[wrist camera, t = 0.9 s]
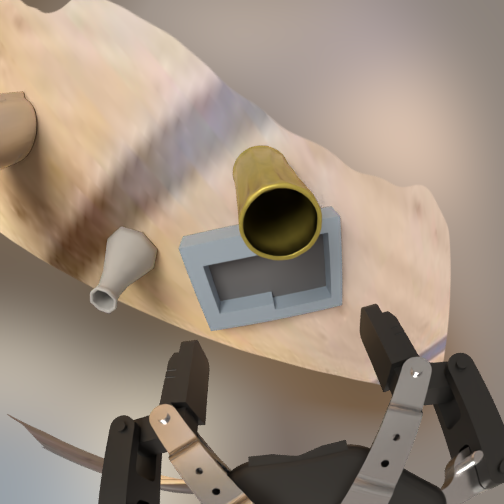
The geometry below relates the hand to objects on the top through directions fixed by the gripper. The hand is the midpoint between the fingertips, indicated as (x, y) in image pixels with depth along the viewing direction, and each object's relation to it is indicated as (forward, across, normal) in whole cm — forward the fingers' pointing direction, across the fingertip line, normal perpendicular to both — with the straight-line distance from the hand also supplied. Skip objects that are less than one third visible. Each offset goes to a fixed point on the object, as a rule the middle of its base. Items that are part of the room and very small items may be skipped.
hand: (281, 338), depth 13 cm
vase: (+21, -1, -3) cm, 21 cm away
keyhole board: (+21, +1, +9) cm, 22 cm away
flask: (+20, +17, +3) cm, 27 cm away
